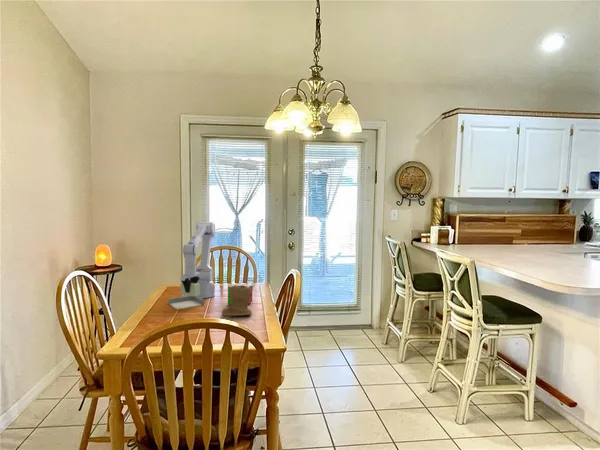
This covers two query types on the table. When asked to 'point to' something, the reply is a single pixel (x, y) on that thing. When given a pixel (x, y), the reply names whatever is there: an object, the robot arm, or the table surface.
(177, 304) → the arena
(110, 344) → the table surface
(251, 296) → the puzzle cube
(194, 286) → the green block
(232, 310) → the brown boot
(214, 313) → the table surface
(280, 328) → the table surface
